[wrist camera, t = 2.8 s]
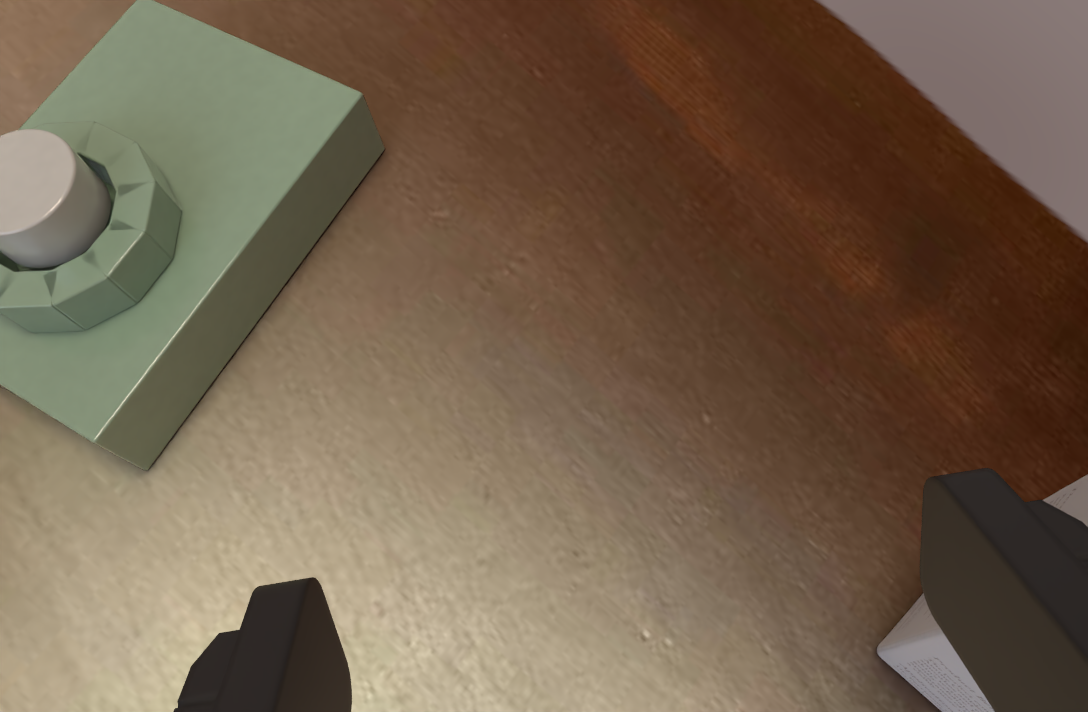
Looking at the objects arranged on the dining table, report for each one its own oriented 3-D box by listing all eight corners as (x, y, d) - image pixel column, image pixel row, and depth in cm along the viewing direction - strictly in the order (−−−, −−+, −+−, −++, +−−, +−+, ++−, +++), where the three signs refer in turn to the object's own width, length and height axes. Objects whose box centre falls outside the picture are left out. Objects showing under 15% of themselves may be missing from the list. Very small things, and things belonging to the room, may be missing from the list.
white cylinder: (51, 151, 28) (10, 110, 26) (136, 195, 27) (100, 156, 25) (-27, 239, 27) (-76, 203, 25) (58, 288, 26) (15, 254, 24)
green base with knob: (180, 54, 35) (115, -47, 31) (386, 148, 33) (348, 55, 28) (-67, 339, 31) (-186, 272, 27) (147, 472, 29) (57, 424, 24)
